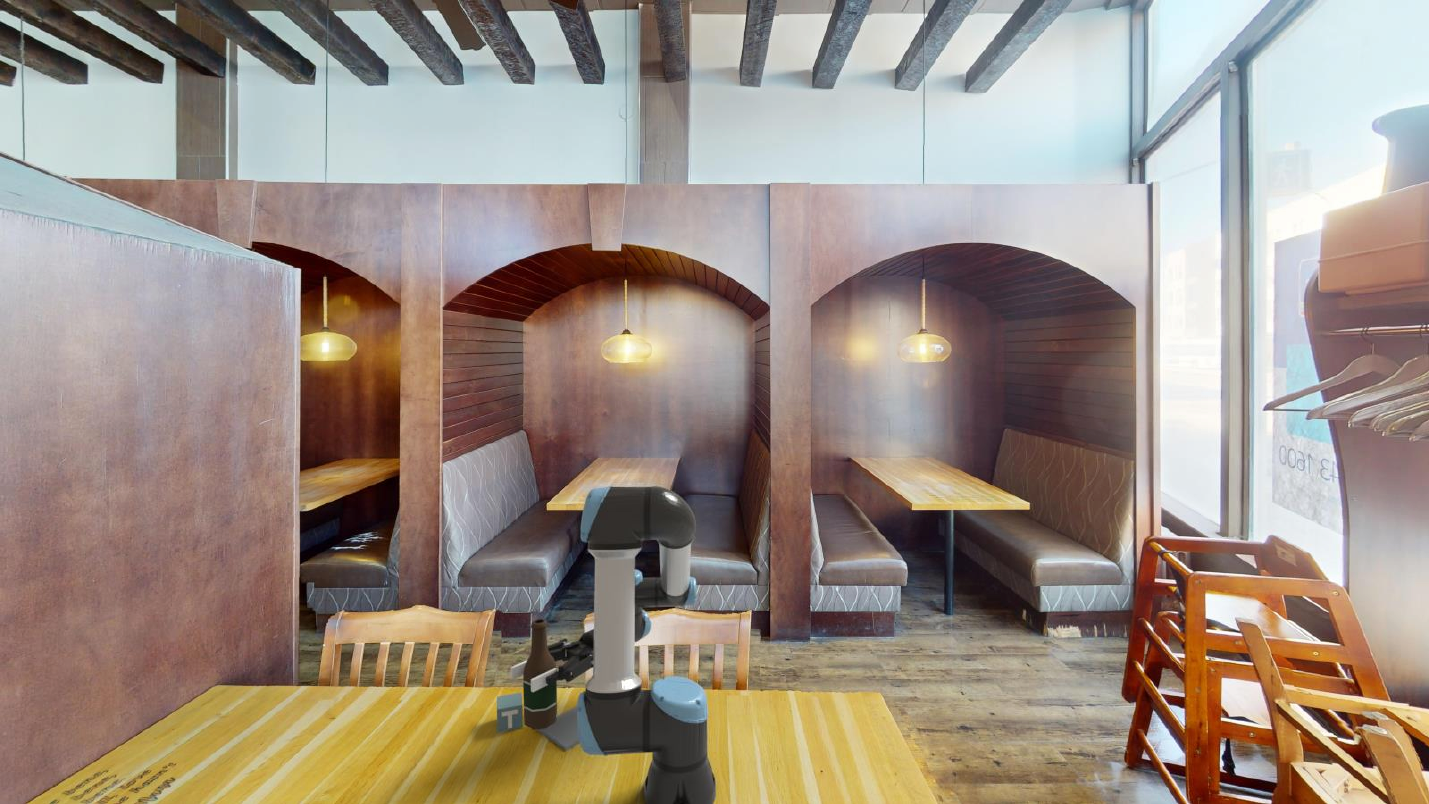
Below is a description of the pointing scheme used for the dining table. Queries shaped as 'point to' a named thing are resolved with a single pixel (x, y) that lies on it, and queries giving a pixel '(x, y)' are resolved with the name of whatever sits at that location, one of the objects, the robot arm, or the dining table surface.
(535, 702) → the beer bottle
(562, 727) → the mat
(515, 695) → the letter block
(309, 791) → the dining table surface
